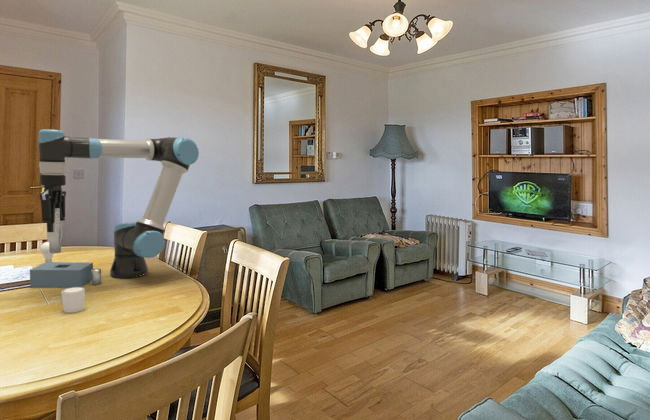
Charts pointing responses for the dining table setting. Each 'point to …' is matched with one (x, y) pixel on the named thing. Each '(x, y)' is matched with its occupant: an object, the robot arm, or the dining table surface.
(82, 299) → the shot glass
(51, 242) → the tall pin
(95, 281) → the short pin
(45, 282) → the hole block
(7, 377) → the dining table surface
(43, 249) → the lightbulb
